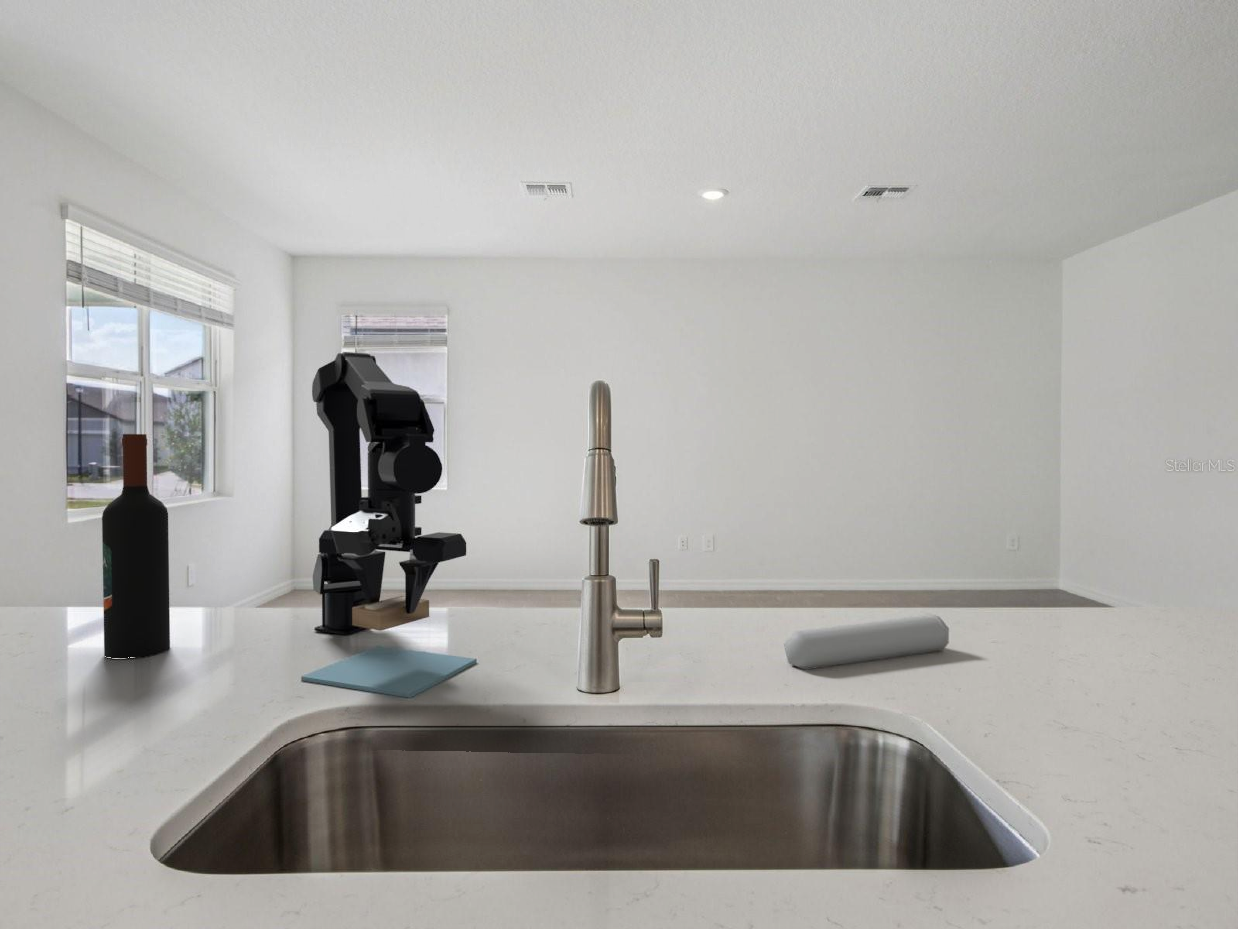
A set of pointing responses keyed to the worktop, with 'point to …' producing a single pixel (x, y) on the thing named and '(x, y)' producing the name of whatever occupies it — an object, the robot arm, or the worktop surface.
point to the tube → (866, 641)
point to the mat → (390, 671)
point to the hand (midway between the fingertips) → (392, 611)
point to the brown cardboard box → (388, 613)
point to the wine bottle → (135, 563)
